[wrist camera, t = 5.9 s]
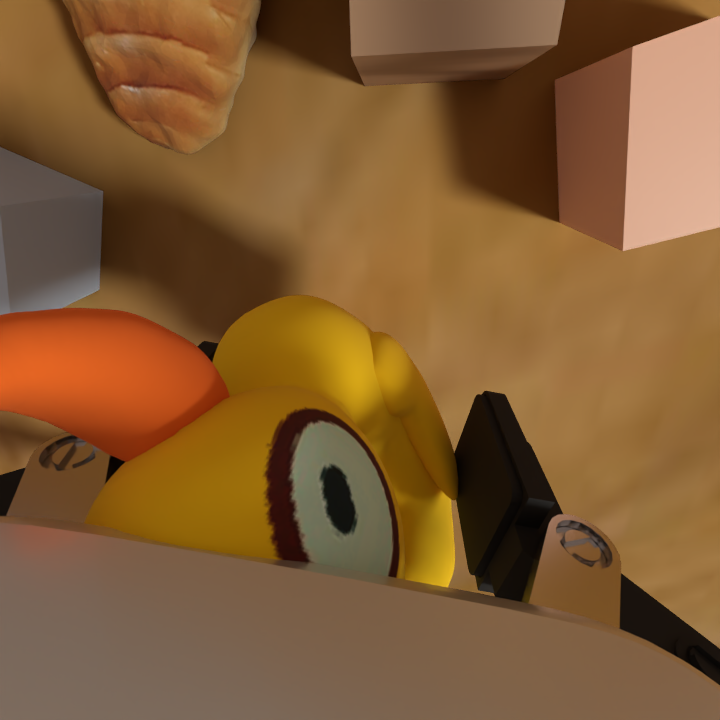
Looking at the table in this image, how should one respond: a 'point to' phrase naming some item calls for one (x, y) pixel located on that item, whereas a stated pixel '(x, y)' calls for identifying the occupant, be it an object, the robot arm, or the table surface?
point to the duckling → (249, 433)
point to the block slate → (46, 236)
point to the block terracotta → (642, 140)
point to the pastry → (169, 62)
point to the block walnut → (449, 38)
